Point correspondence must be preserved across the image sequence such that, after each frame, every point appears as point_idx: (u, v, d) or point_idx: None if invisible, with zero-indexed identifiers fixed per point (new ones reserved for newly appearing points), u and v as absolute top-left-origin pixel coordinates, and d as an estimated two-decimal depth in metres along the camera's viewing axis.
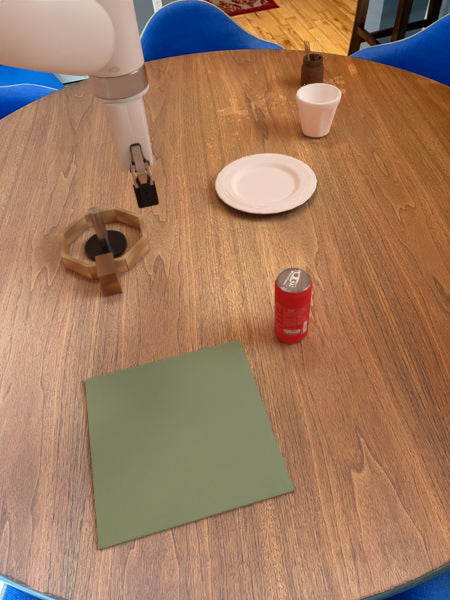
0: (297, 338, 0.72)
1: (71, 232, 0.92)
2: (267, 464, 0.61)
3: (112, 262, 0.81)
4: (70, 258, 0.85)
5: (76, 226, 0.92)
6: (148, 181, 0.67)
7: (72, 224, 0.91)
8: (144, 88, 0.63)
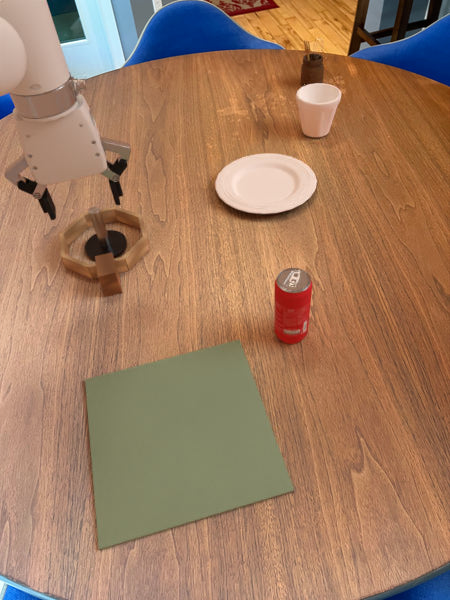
0: (297, 338, 0.72)
1: (71, 232, 0.92)
2: (267, 464, 0.61)
3: (112, 262, 0.81)
4: (70, 258, 0.85)
5: (76, 226, 0.92)
6: (18, 187, 0.66)
7: (72, 224, 0.91)
8: (28, 117, 0.57)
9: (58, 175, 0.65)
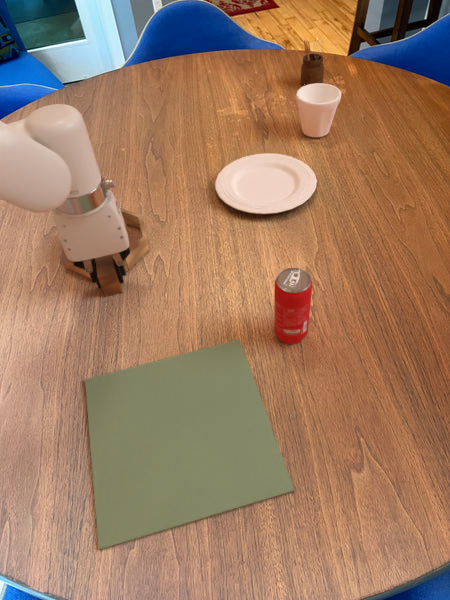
0: (297, 338, 0.72)
1: None
2: (267, 464, 0.61)
3: (112, 262, 0.81)
4: None
5: None
6: (74, 264, 0.78)
7: None
8: (66, 213, 0.68)
9: (88, 254, 0.75)
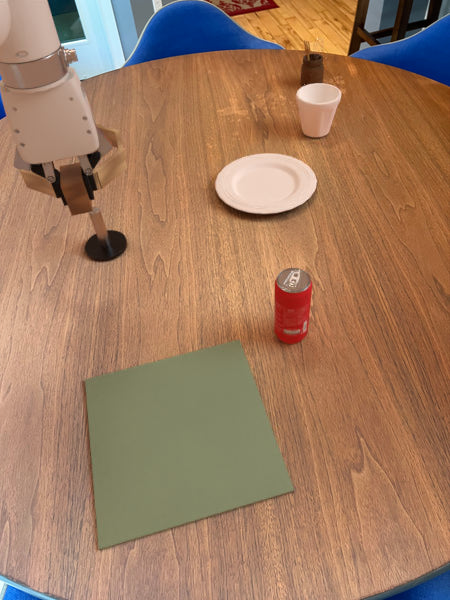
0: (297, 338, 0.72)
1: None
2: (267, 464, 0.61)
3: (80, 172, 0.66)
4: (31, 172, 0.71)
5: None
6: (31, 170, 0.64)
7: None
8: (14, 87, 0.54)
9: (47, 153, 0.61)
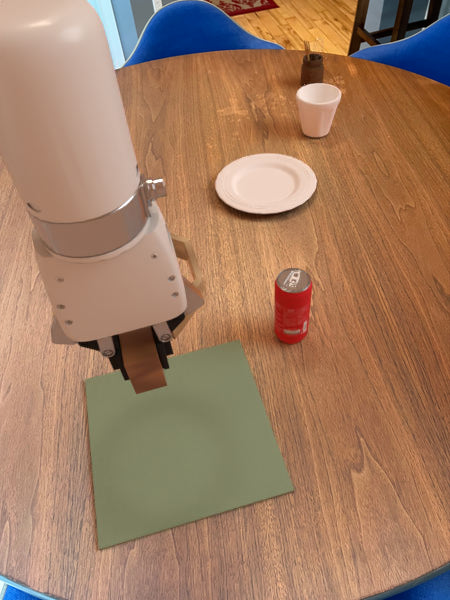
0: (297, 338, 0.72)
1: None
2: (267, 464, 0.61)
3: (150, 333, 0.43)
4: None
5: None
6: (79, 344, 0.40)
7: None
8: (62, 254, 0.30)
9: (108, 328, 0.38)
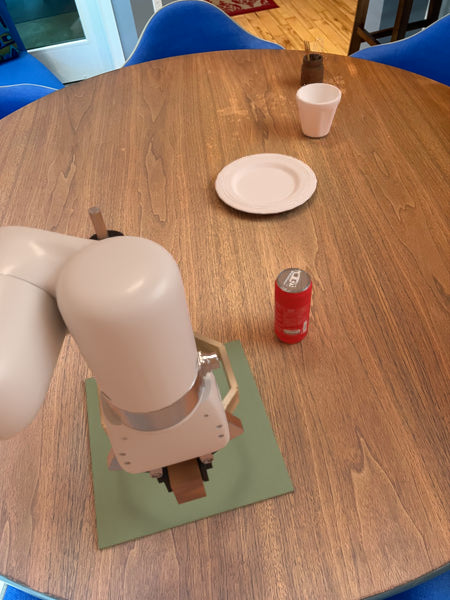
0: (297, 338, 0.72)
1: None
2: (267, 464, 0.61)
3: None
4: None
5: None
6: None
7: None
8: (131, 427, 0.35)
9: (160, 463, 0.42)
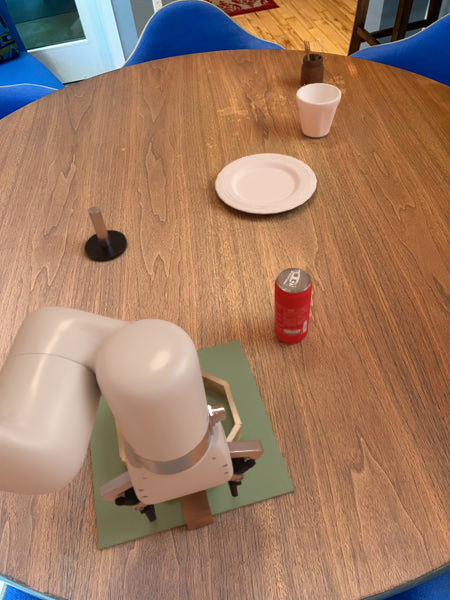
0: (297, 338, 0.72)
1: None
2: (267, 464, 0.61)
3: None
4: None
5: None
6: None
7: None
8: (151, 471, 0.41)
9: (172, 496, 0.49)
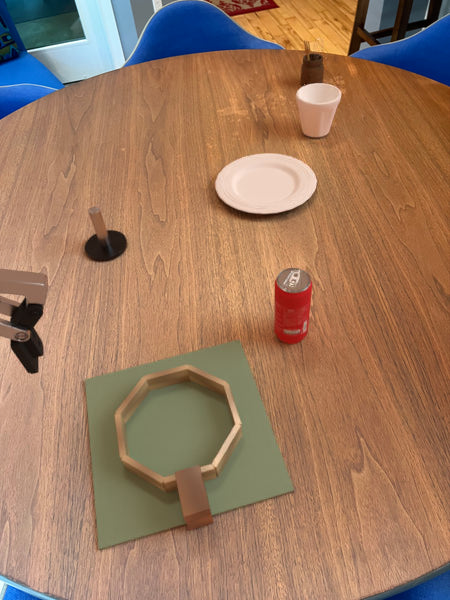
0: (297, 338, 0.72)
1: (130, 407, 0.65)
2: (267, 464, 0.61)
3: (202, 486, 0.54)
4: (135, 464, 0.59)
5: (136, 397, 0.66)
6: None
7: (131, 396, 0.65)
8: None
9: None
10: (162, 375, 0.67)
